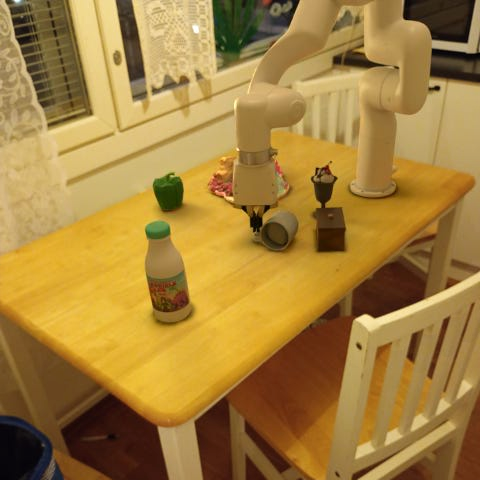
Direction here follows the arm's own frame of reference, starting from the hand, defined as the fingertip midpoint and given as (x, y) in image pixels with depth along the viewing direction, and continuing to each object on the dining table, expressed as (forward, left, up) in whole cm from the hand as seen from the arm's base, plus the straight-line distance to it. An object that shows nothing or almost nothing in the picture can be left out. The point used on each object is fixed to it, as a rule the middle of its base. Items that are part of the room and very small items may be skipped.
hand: (256, 229), depth 126 cm
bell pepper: (-1, -34, -4) cm, 34 cm away
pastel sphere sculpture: (-24, -24, -4) cm, 34 cm away
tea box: (-11, +13, -4) cm, 18 cm away
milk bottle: (+32, +4, -4) cm, 32 cm away
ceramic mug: (-3, +3, -4) cm, 6 cm away
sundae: (-21, +4, -4) cm, 22 cm away
